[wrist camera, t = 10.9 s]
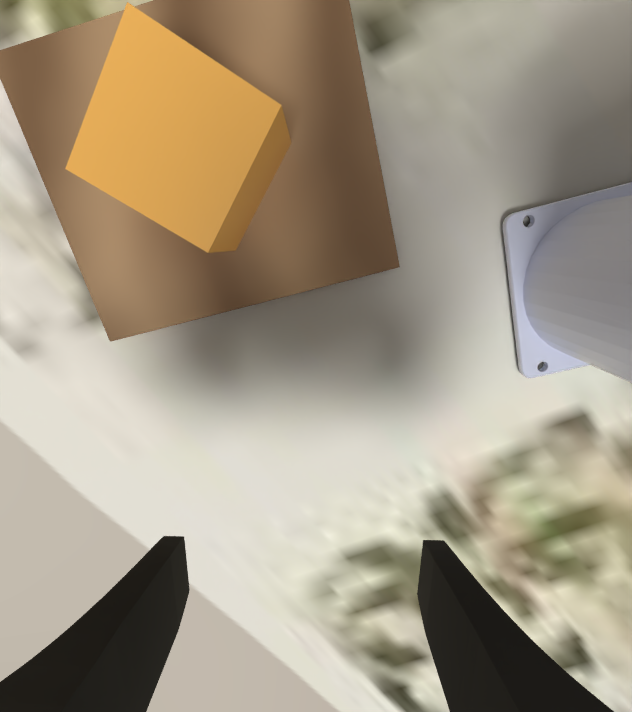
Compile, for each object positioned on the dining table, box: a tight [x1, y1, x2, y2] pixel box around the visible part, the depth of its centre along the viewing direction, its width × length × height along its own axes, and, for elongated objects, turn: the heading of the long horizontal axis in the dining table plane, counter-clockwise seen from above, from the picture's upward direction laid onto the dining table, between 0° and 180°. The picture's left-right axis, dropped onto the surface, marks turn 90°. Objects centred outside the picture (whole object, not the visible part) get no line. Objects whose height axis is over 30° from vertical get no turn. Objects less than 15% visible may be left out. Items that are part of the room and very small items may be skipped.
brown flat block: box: [0, 0, 400, 341], centre depth 15 cm, size 14×12×4 cm
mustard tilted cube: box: [65, 2, 291, 253], centre depth 14 cm, size 5×5×4 cm
